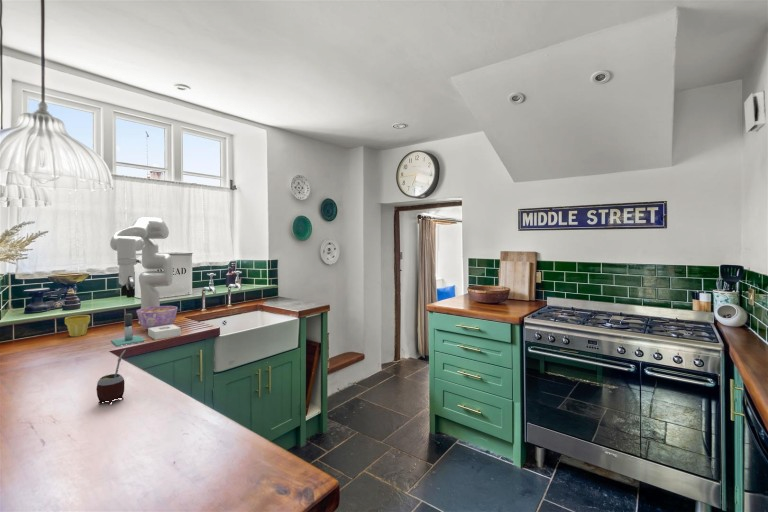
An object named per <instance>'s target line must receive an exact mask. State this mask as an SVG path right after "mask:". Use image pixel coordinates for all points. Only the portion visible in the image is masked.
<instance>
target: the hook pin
mask: <svg viewBox="0 0 768 512" xmlns="http://www.w3.org/2000/svg"><path fill="white" fill-rule="evenodd" d="M123 316H124V318H123V319H124V338H125V341H130V340H133V313H124V314H123Z"/></svg>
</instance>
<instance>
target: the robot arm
mask: <svg viewBox="0 0 768 512" xmlns="http://www.w3.org/2000/svg"><path fill="white" fill-rule="evenodd" d="M169 231H170V230H169V227H168V226H167V224H166V223H165V221H164V220H163V219H162V218H159V217H139V218H137V219H135V221H134V222H133V224H132V225H131V226H129V227H127V228H124V229H121V230H118V231H116V232H115V233H114V234H113V236H112V237H111V239H110V243H109V245H110V248H111V249H112V250H113V251H116V252H117V253H116V254H117V255H116V256H117V266H119V267H118V284H119V285H120V289H121V290H120V291H121V292H120V293H121V296H126V298H128V299H129V298H135V296H136V295H135V284H136V276H135V265H137V252H139V251H141V265H142V267H143V268H144V269H147V270H146V271H143V272H140V274H139V275H138V283H139V288H140V309H142V308H147V307H155V306H161V305H160V304H161V303H160V292H159V291H158V289H157V288H156V287H169V286H171V285H172V284H173V258H172V256H171V254H169V253H159V245H158V243H157V241H155V240H166V239H167V238H168V237H169V234H170V232H169ZM148 270H150V271H148ZM158 270H159V271H158ZM138 325H141V324H140V321H139V320H138Z"/></svg>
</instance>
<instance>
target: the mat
mask: <svg viewBox="0 0 768 512" xmlns="http://www.w3.org/2000/svg"><path fill="white" fill-rule="evenodd" d="M144 341H146V342H147V339H146V338H144V337H142V336H141V335H134V336H133V340H130V341H125V337H122V338H121V337H120V338H115V339H110V342H111V343H112V344H113V345H114V346H116V347H122V346H121V345H123V346H127V345H126V344H129V345H132V344H131V343H135V344H139V343H138V342H140V343H145V342H144Z"/></svg>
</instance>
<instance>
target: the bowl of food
mask: <svg viewBox="0 0 768 512" xmlns="http://www.w3.org/2000/svg"><path fill="white" fill-rule="evenodd" d="M177 313H178V306H174V305H160V306H155V307H147V308H142V309H141V308H139V309H136V315H137V318H138V322H139V321H140V324H139V325H140V326H141V327H142V328H144V329H146V330H148V328H152V327H159V326H165V325H172V324H173V325H174V323H175V321H176V317H177Z"/></svg>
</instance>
